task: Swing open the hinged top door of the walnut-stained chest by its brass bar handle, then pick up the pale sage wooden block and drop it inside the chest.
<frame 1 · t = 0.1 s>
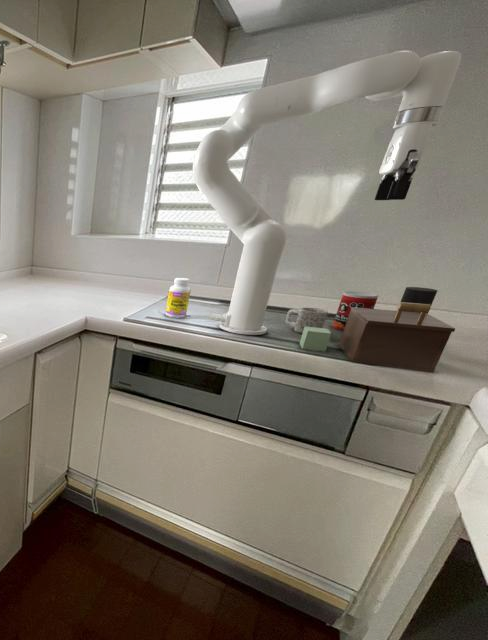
hand: (388, 199, 100), 37 cm above the countertop, tool pointing down, fingers open, 9 cm apart
supplement bottle: (175, 316, 141), on the countertop
canned food: (348, 329, 125), on the countertop
lid: (401, 309, 96), point 12 cm above the countertop, hinge at 0.0°
chest: (381, 357, 101), on the countertop
black topped stool: (399, 343, 112), on the countertop
block: (312, 347, 109), on the countertop
mug: (300, 330, 124), on the countertop
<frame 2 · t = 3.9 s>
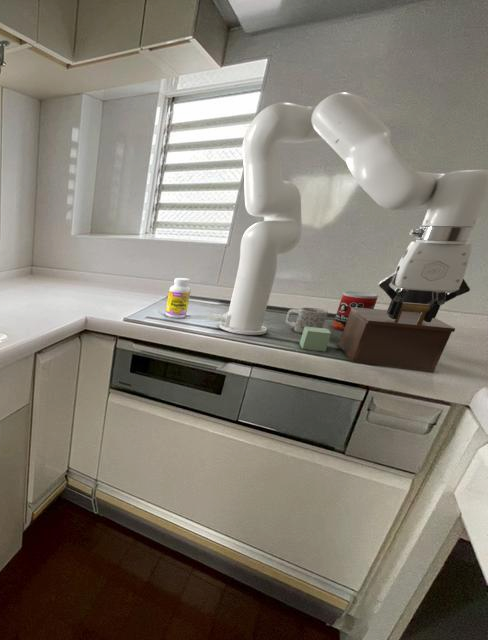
hand: (408, 318, 92), 12 cm above the countertop, tool pointing down, fingers closed on lid, 5 cm apart
lid: (401, 309, 96), point 12 cm above the countertop, hinge at 0.0°, touching gripper
everything else where it was.
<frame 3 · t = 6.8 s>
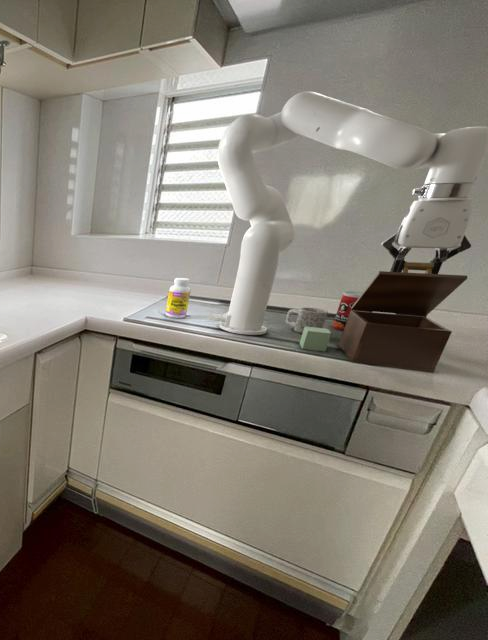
hand: (411, 277, 94), 20 cm above the countertop, tool pointing down, fingers closed on lid, 5 cm apart
lid: (403, 286, 97), point 17 cm above the countertop, hinge at 44.7°, touching gripper
everything else where it was.
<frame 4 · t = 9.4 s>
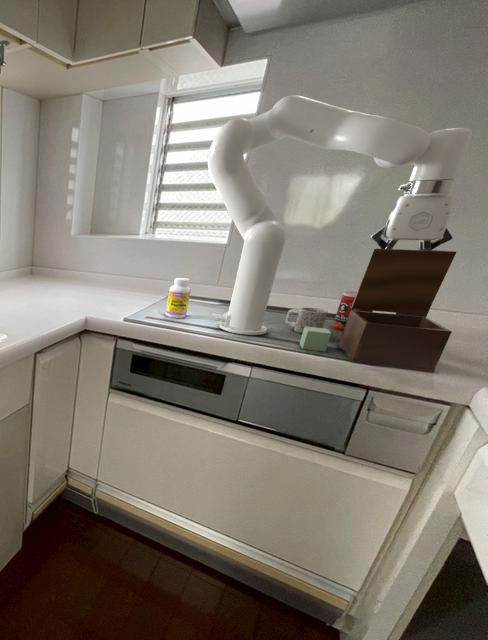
hand: (398, 267, 102), 21 cm above the countertop, tool pointing down, fingers closed on lid, 5 cm apart
lid: (397, 279, 101), point 18 cm above the countertop, hinge at 84.6°, touching gripper
everything else where it was.
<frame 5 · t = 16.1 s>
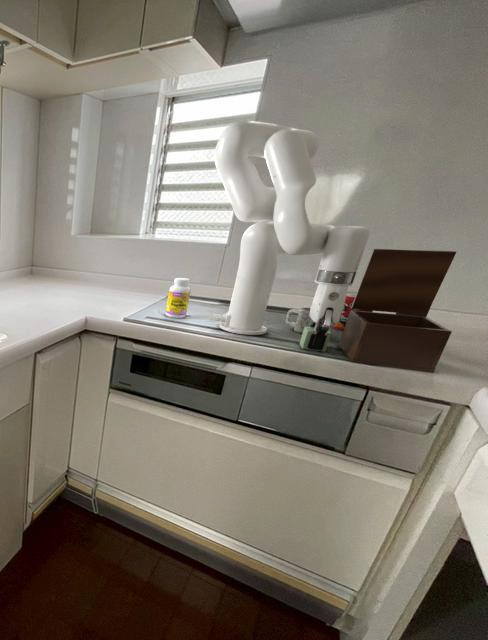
hand: (312, 345, 108), 1 cm above the countertop, tool pointing down, fingers closed on block, 5 cm apart
lid: (397, 279, 101), point 18 cm above the countertop, hinge at 84.7°
block: (312, 347, 109), on the countertop, touching gripper
everything else where it was.
when the fingers open (9 cm above the countertop, at t = 25.1 s): block drops 8 cm, resting on chest.
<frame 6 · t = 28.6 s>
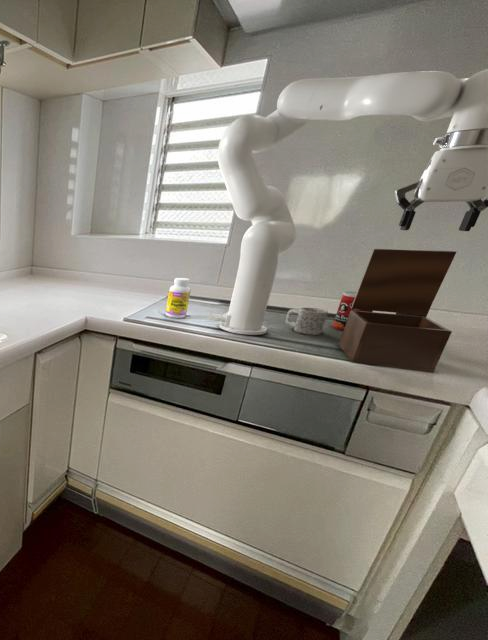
hand: (433, 230, 89), 30 cm above the countertop, tool pointing down, fingers open, 9 cm apart
block: (383, 355, 100), point 1 cm above the countertop, touching chest
everything else where it was.
at the end: lid at +85° (first picture: +0°); block inside the target area in the chest (0.5 cm from its centre), point 0.8 cm above the chest's base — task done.
